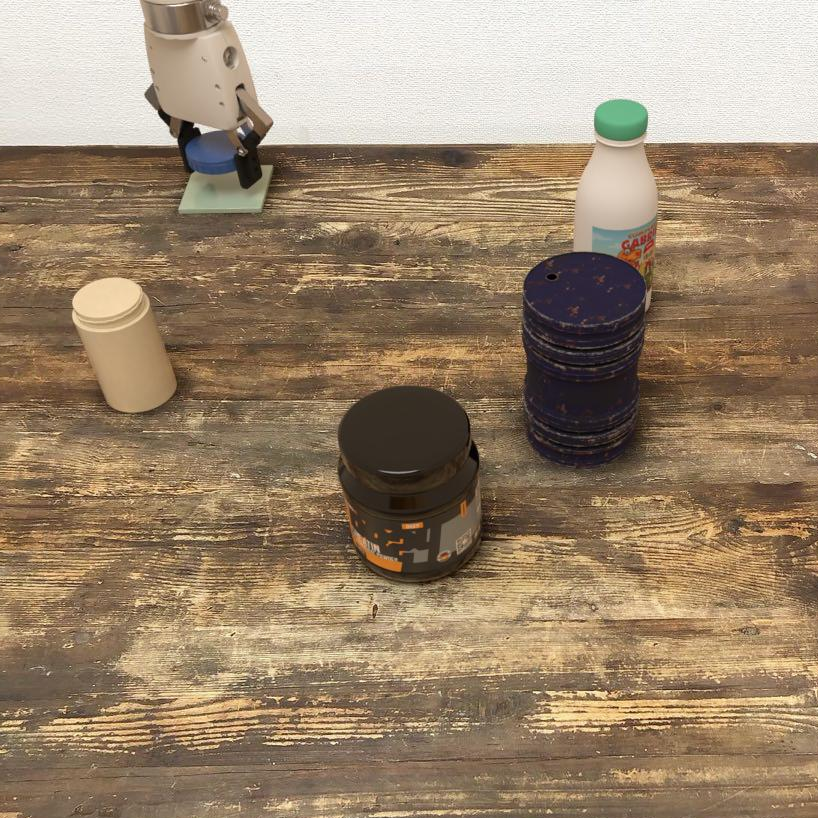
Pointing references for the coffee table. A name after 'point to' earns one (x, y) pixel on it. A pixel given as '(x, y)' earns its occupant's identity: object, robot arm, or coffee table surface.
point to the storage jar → (582, 356)
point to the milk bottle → (619, 191)
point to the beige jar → (124, 344)
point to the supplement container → (410, 482)
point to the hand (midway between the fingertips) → (224, 174)
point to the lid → (212, 153)
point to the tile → (224, 193)
